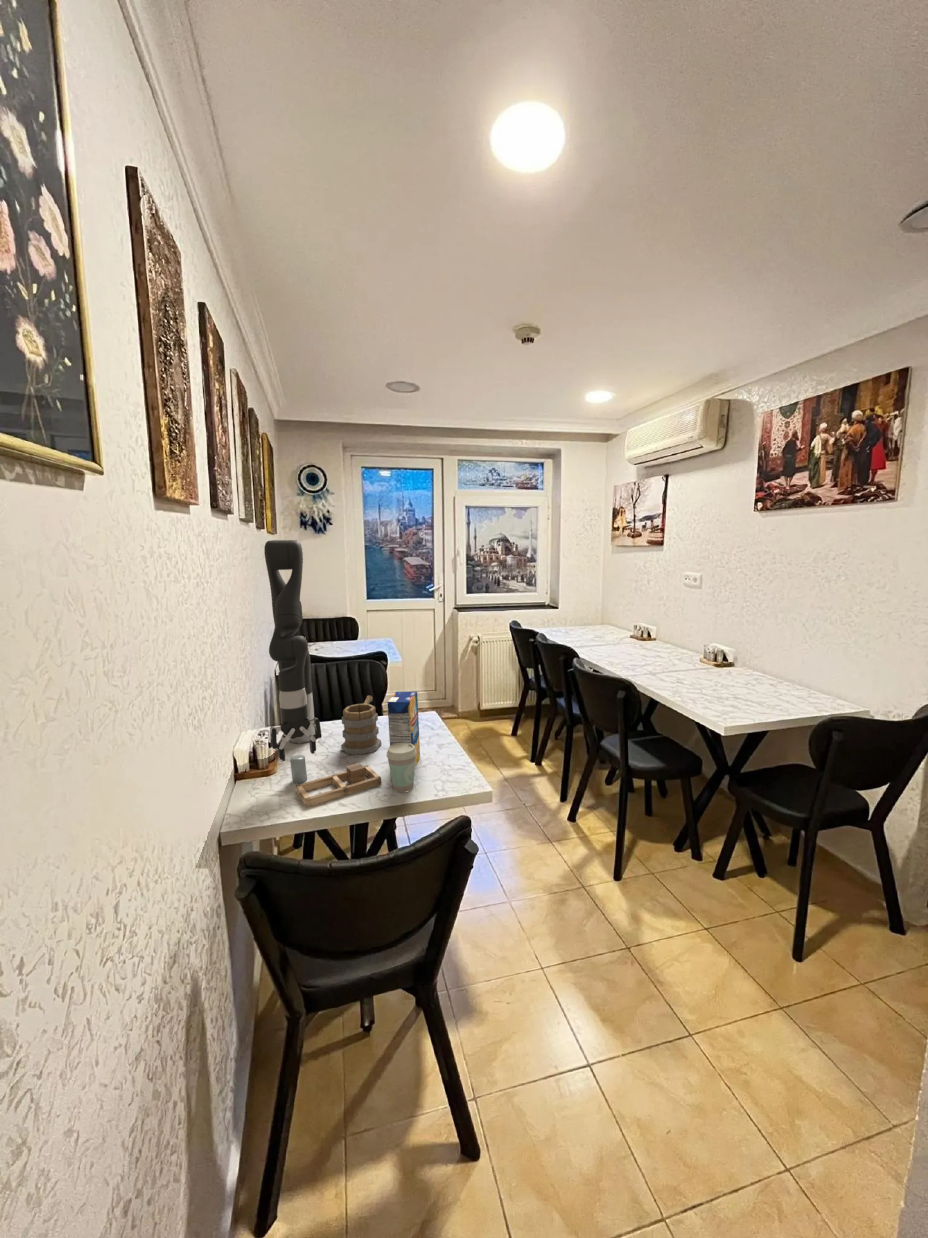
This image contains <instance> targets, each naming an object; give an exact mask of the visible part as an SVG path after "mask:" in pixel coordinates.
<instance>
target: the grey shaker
mask: <svg viewBox="0 0 928 1238" xmlns="http://www.w3.org/2000/svg"><path fill="white" fill-rule="evenodd" d="M289 761H290V762H289V763H290V773H291V778H292V779H291V780H292V784H296V785H299V784H302V783H306V782H307V780H308V774H307V766H306V765H307V763H306V756H305V755H304V754H300V755H294V756H292V757H290V758H289Z"/></svg>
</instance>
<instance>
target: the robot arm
mask: <svg viewBox="0 0 928 1238" xmlns="http://www.w3.org/2000/svg"><path fill="white" fill-rule="evenodd" d="M263 551H264V558H265V565H266V566H265V567H266V570H267V576H268V581H269V585H270V594H271V595H270V596H271V597H270V598H271V606H272V617H273V622H274V623H273V624H274V630H273V633H272V636H271V639H270V642H269V646H268V647H269V648H268V654H269V657H270V658H271V660H273V661H274V662H277V666H278V671H279V672H278V675H277V676H278V688H279V690H278V691H279V695H278V697H279V698H278V699H279V700H278V701H279V711H280V726H270V728H269V735H270V737H269V738H270V739H269V740H270V742H269V743H270V747H271V749H273V750H277V753H278V758H279V760H280V761H282V762H285V761H286V754H285V749H284V748H285V746H286V744H288V742H290V743H293V744H304V743H309V751H310V754H312V755H314V754H315V753H316V752H317V740H318V739H321V738H322V728H321V721H320V719H319V718H318V717H315V708H314V699H313V697H314V696H313V687H312V686H313V685H312V673H311V672H312V671H311V669H312V668H311V666H312V665H311V664H312V663H311V662H312V661H311V655H310V654H311V653H310V651H309V643H308V640H307V639H306V637H305V636H303V635H296V633H297V632H298V631H299V629H300V627H301V625H302V623H303V617H304V616H303V607H302V601H301V589H302V581H303V565H304V564H303V563H304V561H303V560H304V554H303V553H304V552H303V547H302V544H301V542H300V541H299V540H296V539H281V540H279V539H274V540H267V541H266V542H265V545H264V550H263ZM286 570H287V571H291V574H290V577H289V579H288V581H287V583H286V582H285V580H284V579H283V577H282V575H281V573H280V571H286ZM280 731H281V732H282V735H281V737H280V739H279V741H278V742H277V739H278V738H277V736H278V735H279V732H280Z"/></svg>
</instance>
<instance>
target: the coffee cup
mask: <svg viewBox="0 0 928 1238" xmlns="http://www.w3.org/2000/svg"><path fill="white" fill-rule="evenodd" d="M386 751H387V752H386V758H387V760H388V761H387V762H388V768H389V772H390V778H391V784H392V788H393V790H394V791H395V792H397V793H407V792H410V791H412V790H413V789H414V785H415V770H416V766H415V758H416V754H417V752H416V749H415V747H414V745H413V744H410V743H397V744H393V745H391V746H390V745H389V746H388V748H387V750H386Z"/></svg>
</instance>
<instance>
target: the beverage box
mask: <svg viewBox="0 0 928 1238" xmlns="http://www.w3.org/2000/svg"><path fill="white" fill-rule="evenodd" d="M418 699H419V698H418V691H395V692H394V694H393V695H392V696H391V697H390V699H388V701H387V716H388V732H389V733H388V735H389V737H388V738H389V747H390V746H391V745H393V744H397V743H410V744H413V745H414V747H415V749H416V752H417V754H416V758H415V767H416V766H417V763H418V762H419V760H420V758H421V747H420V746H421V745H420V726H419V725H420V723H419V706H418V705H419V703H418V702H419V701H418Z"/></svg>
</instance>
